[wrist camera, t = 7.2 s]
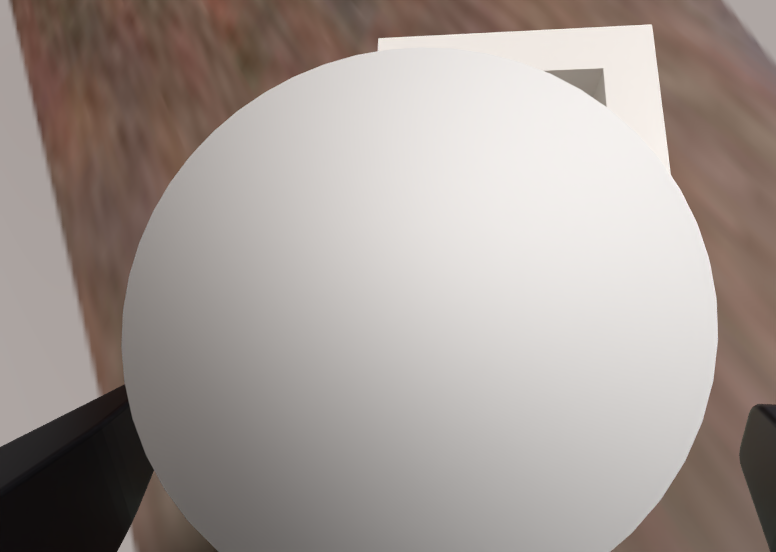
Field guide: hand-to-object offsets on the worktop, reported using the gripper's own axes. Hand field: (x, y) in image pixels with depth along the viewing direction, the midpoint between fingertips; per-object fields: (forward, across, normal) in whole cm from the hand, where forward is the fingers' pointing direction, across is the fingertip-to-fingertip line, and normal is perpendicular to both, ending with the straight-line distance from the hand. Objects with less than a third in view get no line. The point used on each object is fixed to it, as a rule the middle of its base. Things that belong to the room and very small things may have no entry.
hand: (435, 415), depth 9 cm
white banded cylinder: (+7, 0, +6) cm, 9 cm away
